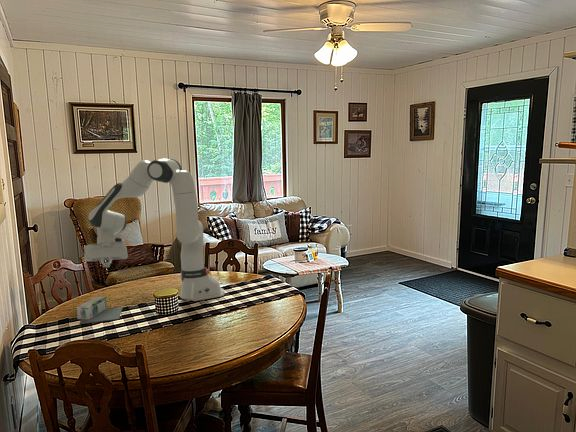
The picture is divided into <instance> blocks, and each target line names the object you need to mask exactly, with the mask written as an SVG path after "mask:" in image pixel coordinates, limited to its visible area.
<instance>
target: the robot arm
mask: <svg viewBox="0 0 576 432" xmlns="http://www.w3.org/2000/svg"><path fill="white" fill-rule="evenodd" d="M153 181H156V182H159V183H166V184H168V183H169V185H171V188H172V195H173V196H172V197H173V202H174V207H175V208H174V209H175V226H176V227H175V228H176V238H177V240H178V241H179V242H180V243H181V247H180V248H181V249H180V263H181V269H180V279H181V290H180V295H179V298H180V299H183V300H188V301H193V302H197V301H198V302H199V301H203V300H208V299H214V298H219V297H223V296H225V294H226V291H225V289H224V288H223V287H221V284H220V283H219V280H217V279H216V278H215V277H213V276H212V275H210V269H208V268H207V267H205V264H204V263H205V262H204V225H203V223H202V222H201V221H200V220H199V203H198V197H197V190H196V186H195V182H194V178H193V175H192V173H191V172H190V171H189V170H185V169H184V170H183V169H182V165H181V164H180V162H179V161H177V160H176V159H173V158H165V157H164V158H157V159H154V160H152V161H149V160H145V159H143V160H140V161H139V162H138V163H137V164H136V165H135V167H133V169H132V170H131V171H130V174H129V175H128V176H127V177H126V179H124V180H123V181H121V182H117V183H116V184H115V185H113V187H111V189H110V190H109V191H108V192H107V193H106V195H104V197H103V198H102V199H101V200H100V201H99V203H98V204H96V205H95V206H94V207H93V208H92V209H91V210H90V212H89V213H88V217H87V221H88V222H89V224H90V225H91V226H92V227H93V228H94V227H95V228H96V233H97V236H96V243H91V244H90V243H87V244H86V245H85V246H84V247H83V251H84V254H83V259H84V262H85V261H86V262H87V263H88V262H98V261H99V262H100V263H101V264H102V268H110V267H111V264H112V262H113V260H127V259H128V257H129V256H128V255H129V254H128V248H127V245H126V243H125V239H124V238H122V237H116V235H118V234H121V232H124V230H125V229H126V228H127V225H128V222H127V221H128V220H127V218H126V217H127V216H126V215H125V214H123V213H119V212H116V211H112V210H109V208H110V207H112V205H113V204H114V202H115V201H118V200H120V199H122V198H123V199H124V198H139V197H142V196H144V195H145V194H146V193H147V191H148V190H149V189H150V186H151V185H152V184H153ZM105 261H107V262H105Z"/></svg>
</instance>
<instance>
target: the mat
mask: <svg viewBox="0 0 576 432" xmlns="http://www.w3.org/2000/svg"><path fill="white" fill-rule="evenodd" d="M122 311H123V306H118V307H111V308H107V309H105V310H103V311H102V312H100V313H98V314H97V315H95V316H94V317H92V318H90V319H80V322H79V325H83V324H93V323H100V322H107V321H108V322H110V321H117V320H120V318H121V315H122V314H121V313H122Z"/></svg>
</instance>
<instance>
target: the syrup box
mask: <svg viewBox="0 0 576 432" xmlns="http://www.w3.org/2000/svg"><path fill="white" fill-rule="evenodd" d="M107 301H108V299H107V297H106V296H95V297H93V298H91V299H89V300H87V301H85V302H84V303H81V304H80V305H78V306H76V316H77V317H76V318H77V320H82V319H90V318H92V317H94V316H95V315H97V314H98V313H100V312H102V311H103V310H105V309H108V302H107Z"/></svg>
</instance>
